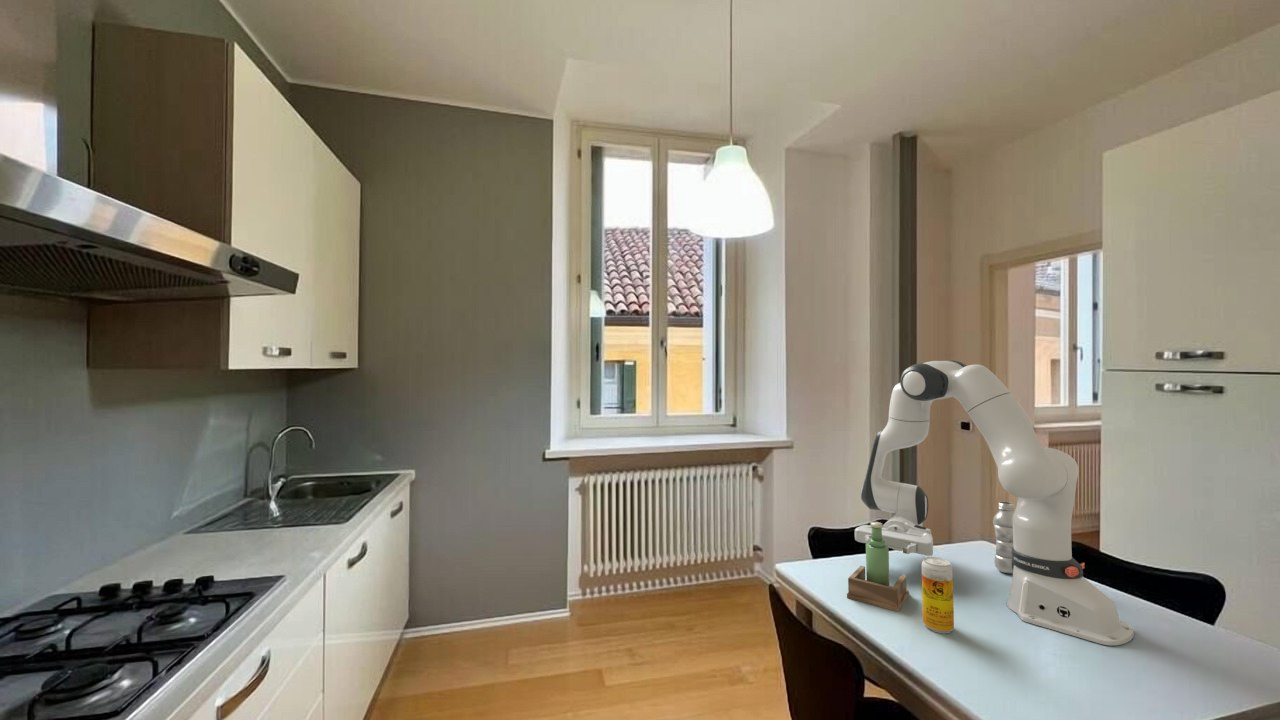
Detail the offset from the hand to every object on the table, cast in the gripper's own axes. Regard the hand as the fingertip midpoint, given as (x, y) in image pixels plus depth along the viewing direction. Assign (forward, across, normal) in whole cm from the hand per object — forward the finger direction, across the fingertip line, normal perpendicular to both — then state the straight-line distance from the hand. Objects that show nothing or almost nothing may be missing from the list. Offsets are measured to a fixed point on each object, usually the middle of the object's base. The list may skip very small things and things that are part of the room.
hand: (886, 546), depth 137 cm
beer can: (+18, +15, +10) cm, 26 cm away
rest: (+10, 0, +10) cm, 14 cm away
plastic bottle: (-30, +25, +10) cm, 41 cm away
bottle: (+10, 0, +9) cm, 13 cm away
